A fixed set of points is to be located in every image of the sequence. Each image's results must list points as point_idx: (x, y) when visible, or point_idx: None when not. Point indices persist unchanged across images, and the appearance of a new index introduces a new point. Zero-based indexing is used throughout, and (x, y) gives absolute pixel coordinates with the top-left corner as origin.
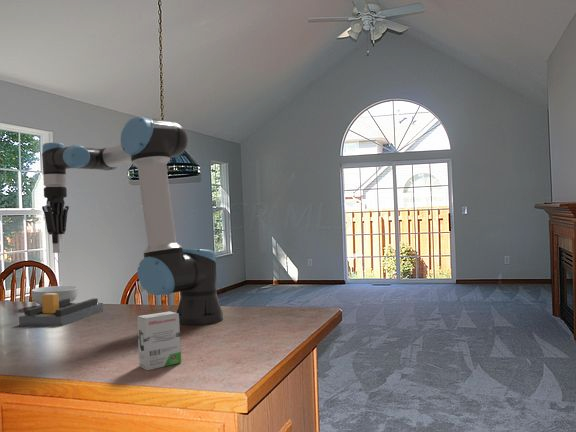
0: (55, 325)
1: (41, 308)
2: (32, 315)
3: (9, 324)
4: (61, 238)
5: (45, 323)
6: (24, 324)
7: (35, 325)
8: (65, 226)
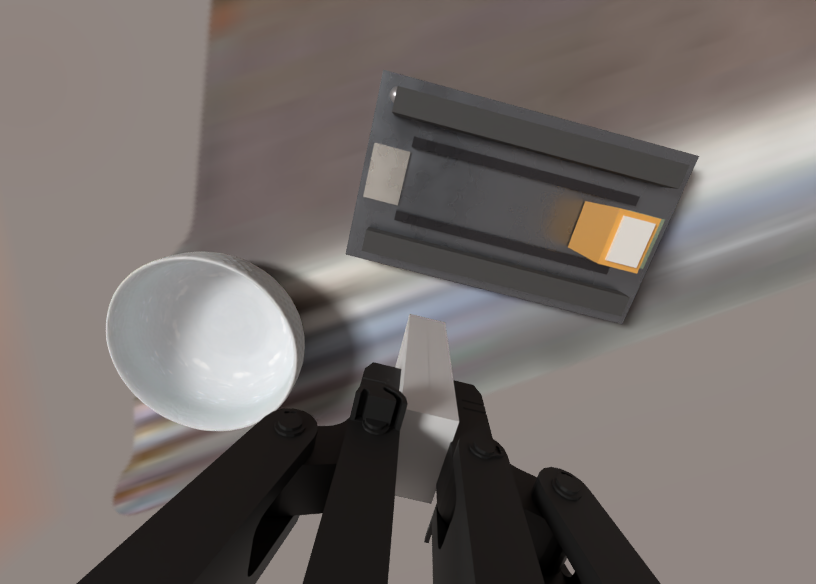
0: None
1: (558, 278)
2: (618, 283)
3: (567, 352)
4: (408, 377)
5: None
6: None
7: None
8: (232, 466)
